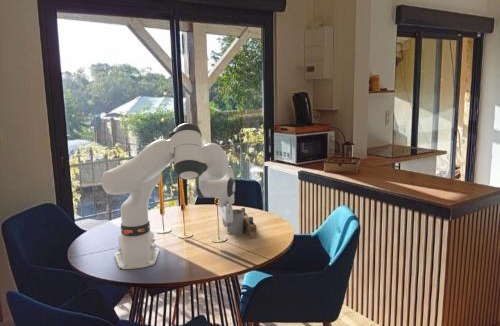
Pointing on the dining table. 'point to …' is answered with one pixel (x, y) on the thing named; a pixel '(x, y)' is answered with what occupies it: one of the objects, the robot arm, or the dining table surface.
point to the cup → (237, 222)
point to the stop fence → (249, 225)
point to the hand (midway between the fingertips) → (225, 226)
